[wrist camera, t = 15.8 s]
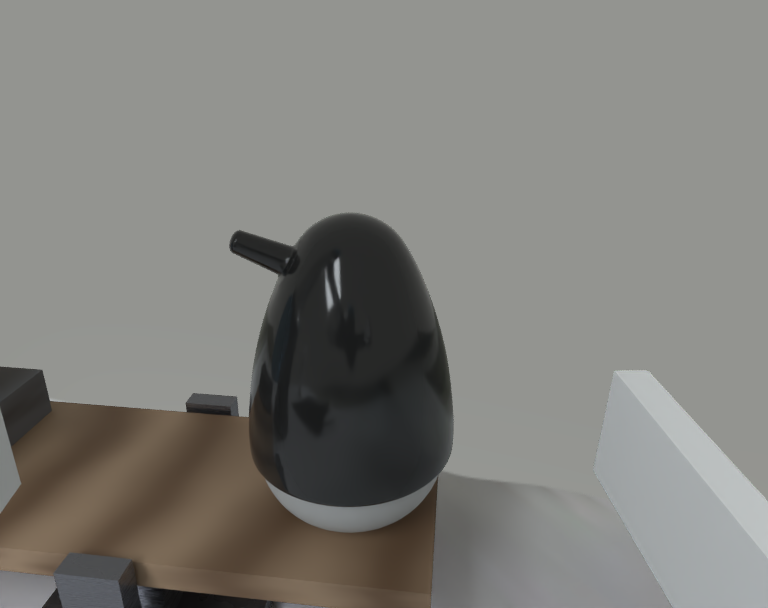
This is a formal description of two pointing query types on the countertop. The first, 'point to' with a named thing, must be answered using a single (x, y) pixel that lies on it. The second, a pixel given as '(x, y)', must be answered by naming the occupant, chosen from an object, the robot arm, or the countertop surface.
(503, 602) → the countertop surface
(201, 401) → the pivot stand
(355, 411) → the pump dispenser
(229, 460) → the balance beam
